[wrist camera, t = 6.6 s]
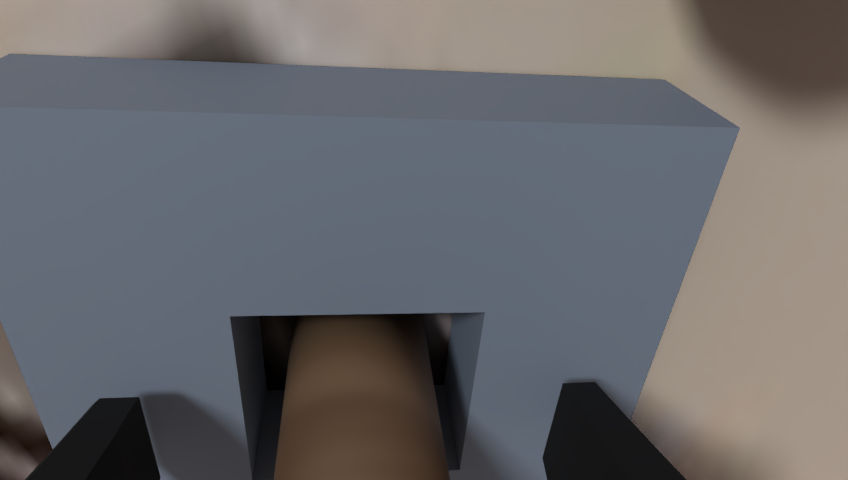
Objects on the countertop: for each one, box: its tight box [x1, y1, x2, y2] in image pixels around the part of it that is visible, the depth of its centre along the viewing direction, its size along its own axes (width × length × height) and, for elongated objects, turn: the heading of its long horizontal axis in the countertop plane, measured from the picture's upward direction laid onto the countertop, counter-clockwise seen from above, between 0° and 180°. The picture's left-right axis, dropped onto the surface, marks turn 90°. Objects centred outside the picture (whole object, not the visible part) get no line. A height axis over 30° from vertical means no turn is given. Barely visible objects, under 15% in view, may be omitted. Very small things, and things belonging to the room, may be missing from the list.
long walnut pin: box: [274, 313, 450, 480], centre depth 10 cm, size 3×3×7 cm
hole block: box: [0, 54, 740, 480], centre depth 12 cm, size 11×11×2 cm
